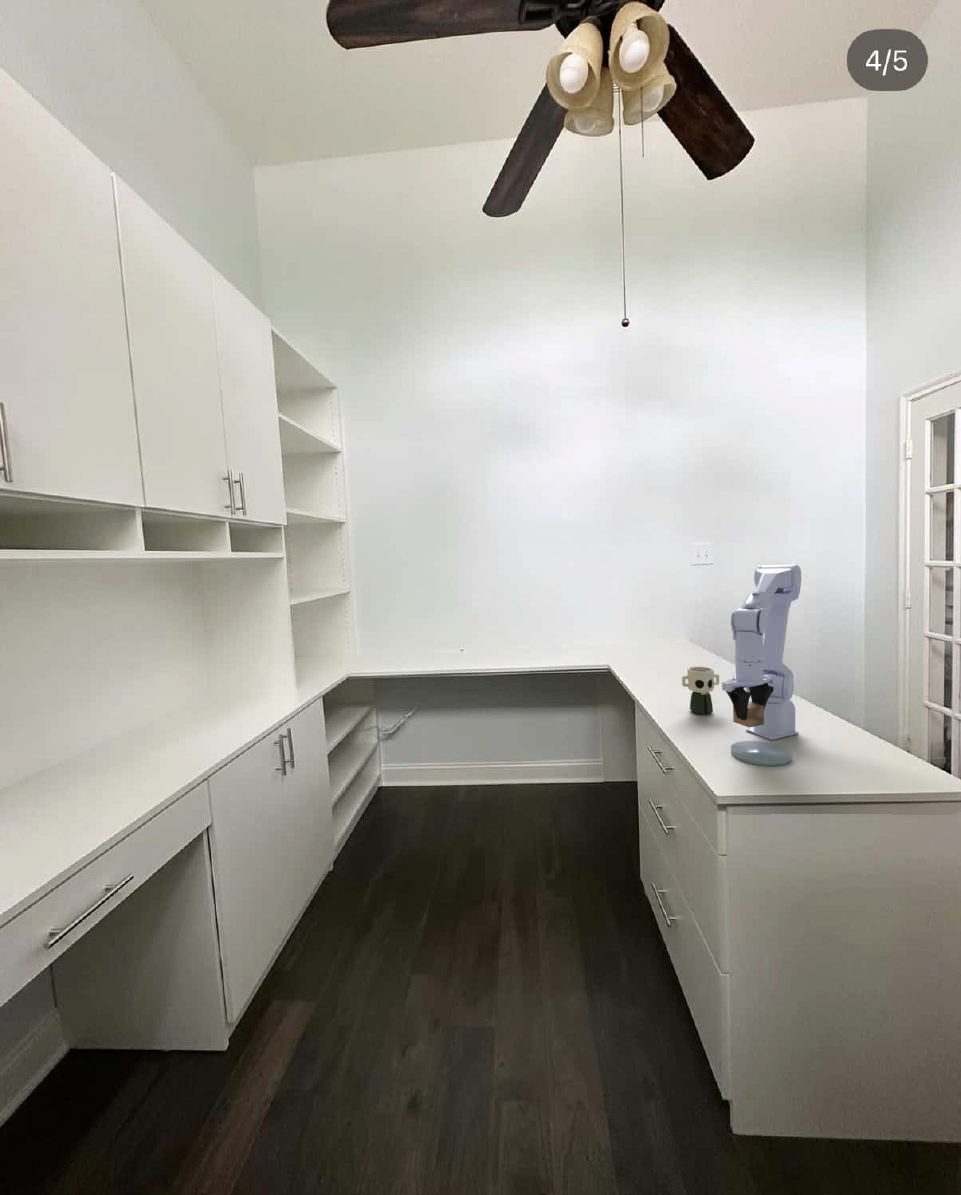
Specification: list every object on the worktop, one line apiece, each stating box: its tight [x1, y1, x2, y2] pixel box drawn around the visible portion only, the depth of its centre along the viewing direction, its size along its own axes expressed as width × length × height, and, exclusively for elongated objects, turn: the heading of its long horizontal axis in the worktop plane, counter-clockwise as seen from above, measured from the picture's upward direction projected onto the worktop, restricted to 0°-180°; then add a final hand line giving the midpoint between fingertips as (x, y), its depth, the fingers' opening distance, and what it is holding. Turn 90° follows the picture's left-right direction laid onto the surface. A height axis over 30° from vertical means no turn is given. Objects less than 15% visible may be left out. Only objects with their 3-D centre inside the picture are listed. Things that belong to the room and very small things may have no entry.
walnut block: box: [732, 700, 764, 728], centre depth 117 cm, size 4×4×4 cm
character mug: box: [681, 666, 720, 715], centre depth 147 cm, size 11×7×13 cm, turn 90°
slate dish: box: [730, 740, 792, 767], centre depth 116 cm, size 12×12×1 cm
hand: (749, 717), depth 117 cm, fingers closed on walnut block, 4 cm apart
